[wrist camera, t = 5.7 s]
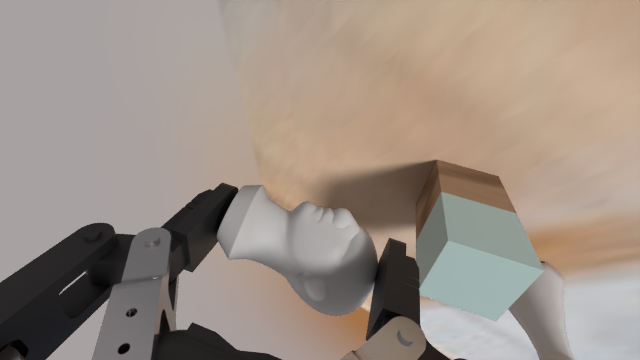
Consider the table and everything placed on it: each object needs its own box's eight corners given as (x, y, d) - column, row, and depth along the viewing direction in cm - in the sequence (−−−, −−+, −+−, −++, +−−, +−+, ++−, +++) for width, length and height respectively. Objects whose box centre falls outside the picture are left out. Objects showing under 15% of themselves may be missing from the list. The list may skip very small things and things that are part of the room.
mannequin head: (398, 232, 15) (338, 290, 17) (279, 141, 14) (227, 212, 16) (417, 285, 11) (337, 355, 13) (253, 163, 10) (186, 256, 12)
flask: (481, 267, 34) (502, 350, 25) (553, 253, 30) (605, 345, 22) (501, 306, 36) (527, 395, 28) (572, 297, 32) (625, 396, 24)
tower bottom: (436, 159, 28) (441, 191, 23) (498, 176, 27) (516, 213, 23) (415, 204, 32) (416, 241, 27) (470, 221, 31) (480, 261, 26)
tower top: (441, 191, 23) (448, 240, 19) (516, 213, 23) (544, 270, 18) (416, 241, 27) (416, 293, 22) (480, 261, 26) (495, 321, 21)
